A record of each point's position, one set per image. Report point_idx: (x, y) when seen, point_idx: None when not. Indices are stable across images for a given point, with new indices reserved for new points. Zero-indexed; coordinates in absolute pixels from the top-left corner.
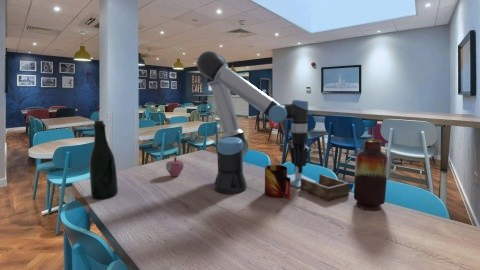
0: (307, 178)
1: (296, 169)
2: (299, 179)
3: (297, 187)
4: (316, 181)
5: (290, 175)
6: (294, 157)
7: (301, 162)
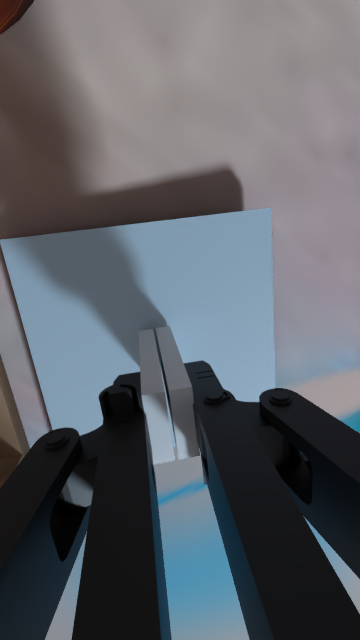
0: None
1: (164, 371)
2: None
3: (4, 239)
4: None
5: (263, 337)
6: (276, 487)
7: (43, 480)
